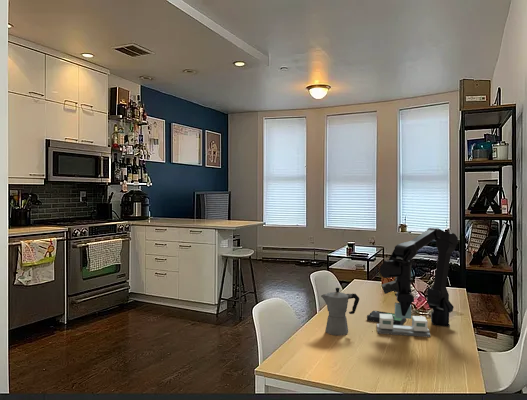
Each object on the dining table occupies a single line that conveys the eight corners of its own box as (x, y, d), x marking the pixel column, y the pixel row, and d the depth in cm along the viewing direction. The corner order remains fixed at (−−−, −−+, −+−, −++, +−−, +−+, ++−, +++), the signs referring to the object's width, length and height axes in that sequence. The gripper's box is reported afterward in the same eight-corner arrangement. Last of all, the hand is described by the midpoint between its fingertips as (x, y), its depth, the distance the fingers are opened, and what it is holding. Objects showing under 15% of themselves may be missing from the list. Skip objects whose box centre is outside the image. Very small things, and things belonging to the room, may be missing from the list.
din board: (426, 329, 182) (426, 315, 182) (430, 337, 172) (430, 322, 172) (376, 325, 186) (376, 312, 186) (377, 333, 176) (378, 319, 176)
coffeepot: (322, 335, 172) (322, 290, 172) (319, 328, 182) (319, 284, 181) (361, 336, 173) (362, 290, 172) (356, 328, 182) (356, 285, 182)
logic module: (409, 315, 180) (410, 303, 180) (411, 318, 176) (411, 306, 176) (394, 314, 182) (394, 302, 182) (395, 317, 177) (395, 305, 177)
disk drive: (366, 322, 193) (401, 327, 186) (366, 315, 193) (401, 320, 186) (373, 316, 202) (406, 320, 195) (373, 310, 202) (406, 314, 195)
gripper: (381, 270, 189) (381, 306, 190) (384, 279, 171) (383, 319, 171) (408, 272, 187) (408, 308, 187) (414, 280, 169) (413, 321, 169)
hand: (403, 314), depth 179 cm, fingers closed on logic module, 5 cm apart
